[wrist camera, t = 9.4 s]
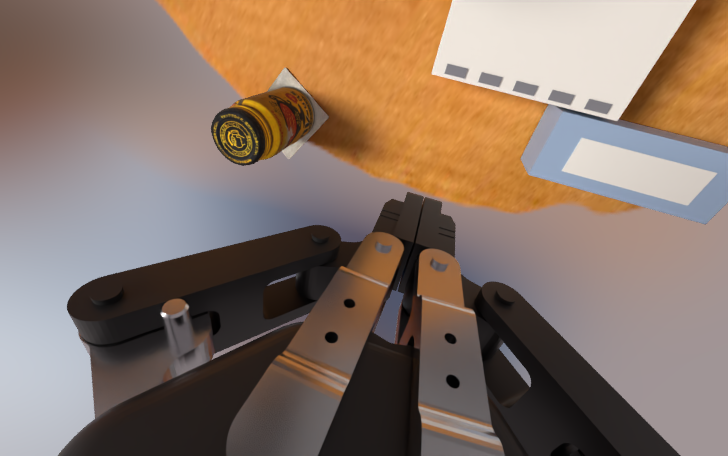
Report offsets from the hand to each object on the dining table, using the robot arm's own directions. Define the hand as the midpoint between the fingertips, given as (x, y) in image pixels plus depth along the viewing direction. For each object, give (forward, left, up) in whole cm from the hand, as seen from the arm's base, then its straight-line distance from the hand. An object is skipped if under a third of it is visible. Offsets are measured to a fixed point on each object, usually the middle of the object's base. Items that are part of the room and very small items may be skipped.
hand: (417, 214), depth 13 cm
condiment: (+6, -18, -25) cm, 31 cm away
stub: (0, +18, -24) cm, 30 cm away
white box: (-9, +6, -24) cm, 27 cm away
